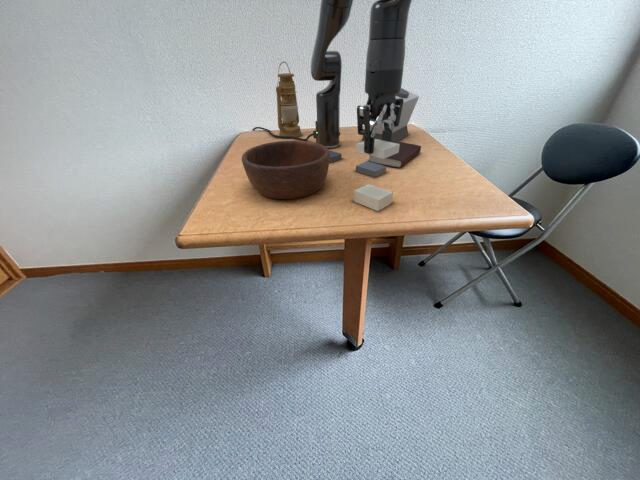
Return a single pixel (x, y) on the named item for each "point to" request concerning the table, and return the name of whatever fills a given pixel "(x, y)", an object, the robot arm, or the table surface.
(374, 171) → the blue-grey flat blocks
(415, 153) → the book
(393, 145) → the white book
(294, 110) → the lantern
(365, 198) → the white rectangular block
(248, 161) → the wooden bowl
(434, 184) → the table surface
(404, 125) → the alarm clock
